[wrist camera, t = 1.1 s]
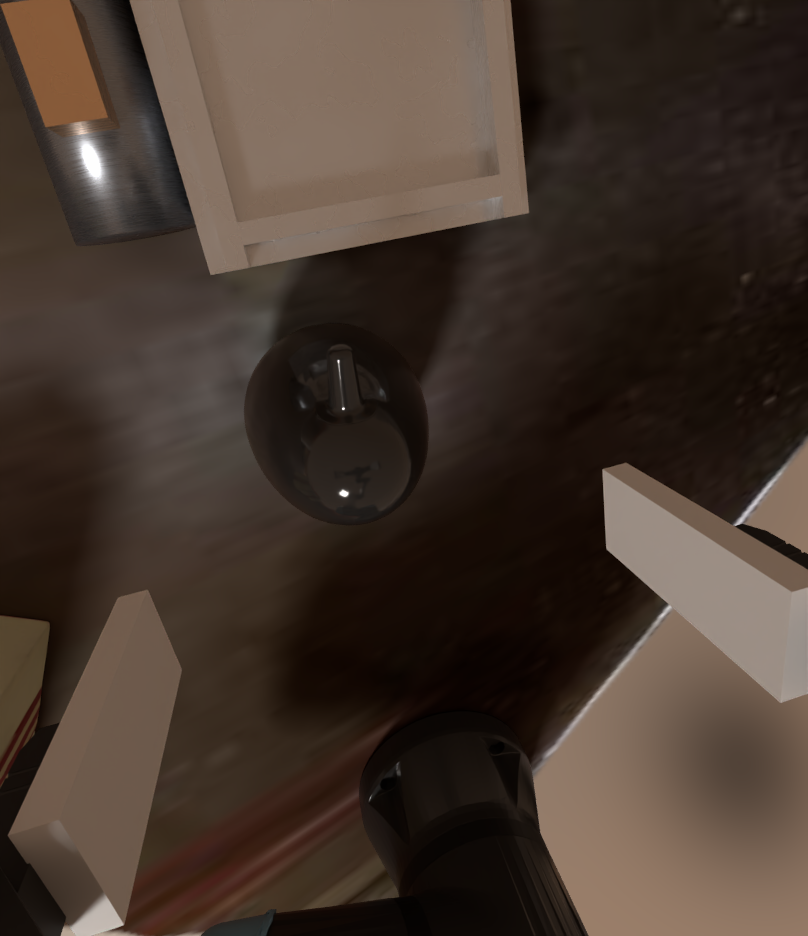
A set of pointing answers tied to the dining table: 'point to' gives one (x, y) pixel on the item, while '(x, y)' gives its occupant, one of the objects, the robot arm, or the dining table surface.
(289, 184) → the white tray
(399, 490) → the pump dispenser
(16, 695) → the gift box
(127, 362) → the dining table surface
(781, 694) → the robot arm
